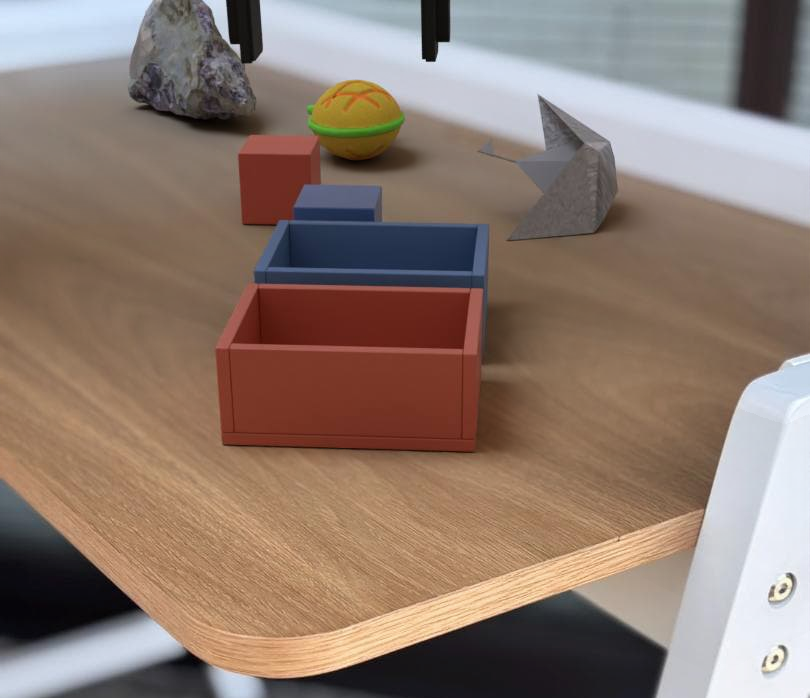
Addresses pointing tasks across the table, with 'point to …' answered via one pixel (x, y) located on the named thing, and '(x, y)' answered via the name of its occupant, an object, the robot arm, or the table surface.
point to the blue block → (339, 203)
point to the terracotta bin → (352, 367)
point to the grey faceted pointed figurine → (566, 177)
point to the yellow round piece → (356, 119)
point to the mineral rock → (187, 64)
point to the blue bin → (378, 255)
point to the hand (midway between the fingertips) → (341, 57)
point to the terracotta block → (276, 175)
